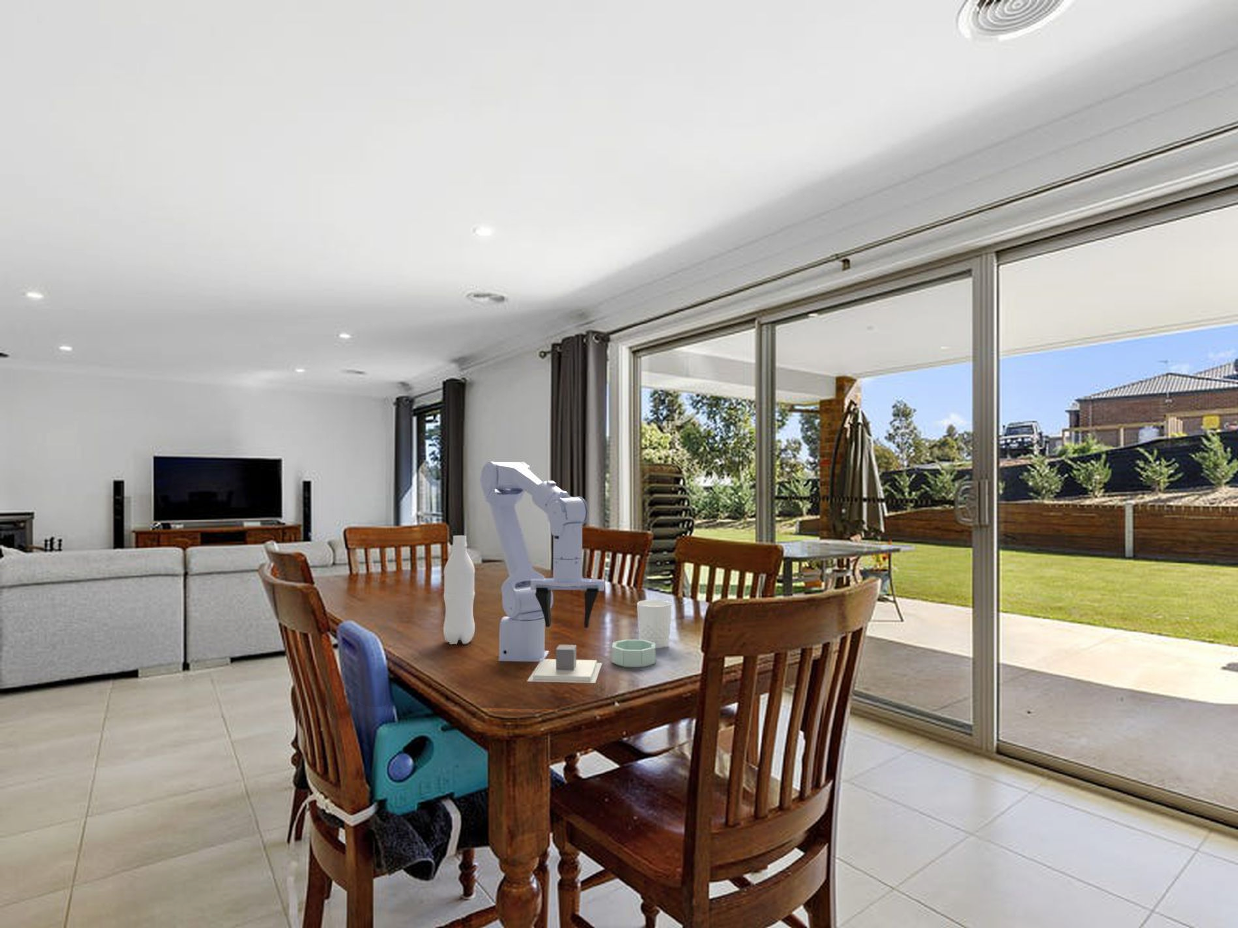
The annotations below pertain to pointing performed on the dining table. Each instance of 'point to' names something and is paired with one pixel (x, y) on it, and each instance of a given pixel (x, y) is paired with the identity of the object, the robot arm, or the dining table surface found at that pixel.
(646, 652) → the bowl
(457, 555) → the water bottle
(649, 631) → the white cup
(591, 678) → the cream square tray
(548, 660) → the lid
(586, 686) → the dining table surface
